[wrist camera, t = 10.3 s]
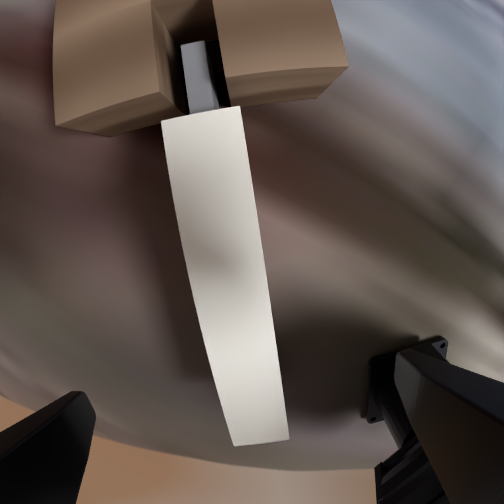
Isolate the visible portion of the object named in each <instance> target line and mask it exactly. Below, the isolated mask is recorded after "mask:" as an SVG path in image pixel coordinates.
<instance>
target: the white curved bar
mask: <svg viewBox="0 0 504 504" xmlns="http://www.w3.org/2000/svg"><path fill="white" fill-rule="evenodd" d="M181 51H182V59H183V67H184V74H185V82H186V89H187V96H188V103H189V110H190V115H186V116H181V117H176V118H172V119H168V120H163V121H161V126H162V133H163V140H164V146H165V153H166V159H167V165H168V171H169V177H170V183H171V189H172V195H173V200H174V206H175V211H176V217H177V222H178V227H179V232H180V237H181V242H182V247H183V252H184V257H185V262H186V266H187V271H188V275H189V280H190V284H191V289H192V293H193V298H194V302H195V306H196V310H197V315H198V319H199V323H200V327H201V331H202V335H203V339H204V343H205V347H206V351H207V355H208V358H209V362H210V366H211V370H212V373H213V377H214V381H215V384H216V388H217V391H218V395H219V398H220V402H221V405H222V409H223V412H224V416H225V419H226V422H227V426H228V429H229V432H230V435H231V438H232V442H233V445H234V446H241V445H252V444H260V443H269V442H276V441H283V440H290V439H289V432H288V425H287V417H286V410H285V403H284V396H283V388H282V381H281V374H280V367H279V360H278V353H277V346H276V339H275V332H274V325H273V318H272V312H271V305H270V298H269V291H268V284H267V278H266V271H265V264H264V258H263V251H262V244H261V238H260V231H259V225H258V218H257V212H256V205H255V199H254V192H253V186H252V179H251V173H250V167H249V160H248V154H247V148H246V142H245V135H244V129H243V123H242V117H241V111H240V106H235V107H229V108H223V109H219V104H218V98H217V91H216V85H215V78H214V72H213V67H212V64H211V61H210V57H209V54H208V51H207V48H206V45H205V42H204V41H199V42H194V43H189V44H184V45H181Z"/></svg>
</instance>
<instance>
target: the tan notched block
mask: <svg viewBox="0 0 504 504" xmlns="http://www.w3.org/2000/svg"><path fill="white" fill-rule="evenodd" d="M214 40H219V43H220V49H221V55H222V61H223V67H224V73H225V78H226V83H227V88H228V92H229V97H230V102H231V107H235V106H240V107H247V106H254V105H261V104H269V103H277V102H285V101H295V100H306V99H316V98H317V97H318V96H319V95H320V94H321V93H322V92H323V91H324V90H325V89H326V88H327V87H328V86H329V85H330V84H331V83H332V82H333V81H334V80H335V79H336V78H337V77H338V76H340V75H341V74H342V73H343V72H344V71H345V70H346V69H347V68H348V67H349V65H348V61H347V57H346V53H345V49H344V45H343V41H342V37H341V34H340V30H339V26H338V23H337V19H336V16H335V12H334V9H333V6H332V3H331V0H56V5H55V17H54V33H53V95H54V112H55V125H56V126H59V127H64V128H69V129H74V130H79V131H84V132H89V133H93V134H98V135H102V136H107V137H112V136H116V135H119V134H123V133H126V132H130V131H133V130H137V129H141V128H144V127H148V126H152V125H156V124H160V123H161V121H163V120H168V119H172V118H176V117H181V116H186V115H187V112H186V105H185V98H184V91H183V84H182V77H181V70H180V62H179V54H178V48H180V47H181V45H184V44H189V43H194V42H199V41H204V42H209V41H214Z"/></svg>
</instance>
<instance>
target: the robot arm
mask: <svg viewBox="0 0 504 504" xmlns="http://www.w3.org/2000/svg"><path fill="white" fill-rule="evenodd" d="M441 344H442V345H441ZM440 345H441V346H440ZM447 347H448V341H447V340H446V339H445V338H444V337H441V338H438V339H435V340H431V341H428V342H424V343H421V344H418V345H414V346H411V347H407V348H404V349H400V350H398V351H394V352H390V353H387V354H383V355H379V356H375V357H373V358H372V359H371V360H370V361H369V372H368V394H367V410H366V420H367V422H368V423H370V424H371V423H376V422H379V421H382V420H384V421H385V423H386V424H387V426H388V428H389V430H390V432H391V434H392V436H393V438H394V440H395V442H396V444H397V446H398V448H399V450H397V451H396V452H395V453H394V454H393V455H391V456H390V457H389V458H388V459H386V460H385V461H384V462H383V463H382V462H381V463H380V464H378V465H377V466H376V467H375V468H374V469H375V483H376V499H377V504H504V383H503V382H500V381H497V380H494V379H491V378H488V377H485V376H483V375H480V374H477V373H474V372H471V371H469V370H466V369H463V368H460V367H458V366H455V365H452V364H450V363H449V362H448V361H447V360H446V354H447ZM377 362H378V364H376V365H374V364H375V363H377ZM372 417H373V418H372ZM95 421H96V414H95V411H94V409H93V407H92V405H91V403H90V401H89V399H88V397H87V395H86V394H85V393H84V392H82V391H71V392H69V393H67V394H66V395H64V396H62V397H61V398H59V399H57V400H55V401H54V402H52V403H50V404H49V405H47V406H45V407H43V408H42V409H40V410H38V411H37V412H35V413H33V414H32V415H30V416H28V417H26V418H24V419H23V420H21V421H19V422H18V423H16V424H14V425H12V426H11V427H9V428H7V429H5V430H3V431H2V432H0V504H76V501H77V497H78V493H79V490H80V486H81V482H82V478H83V475H84V471H85V468H86V464H87V461H88V456H89V451H90V446H91V441H92V436H93V430H94V426H95Z"/></svg>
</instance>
